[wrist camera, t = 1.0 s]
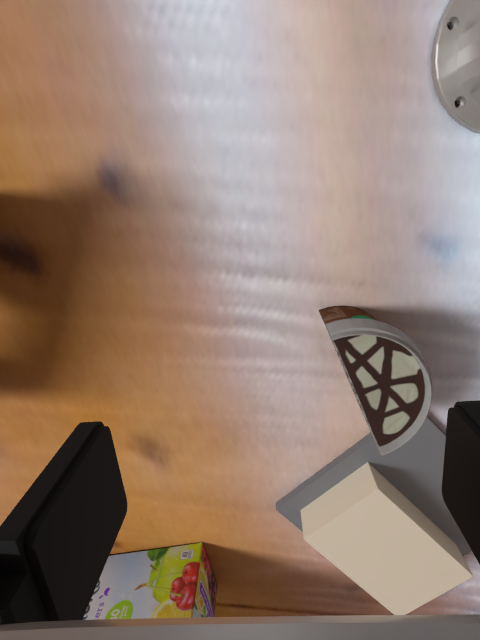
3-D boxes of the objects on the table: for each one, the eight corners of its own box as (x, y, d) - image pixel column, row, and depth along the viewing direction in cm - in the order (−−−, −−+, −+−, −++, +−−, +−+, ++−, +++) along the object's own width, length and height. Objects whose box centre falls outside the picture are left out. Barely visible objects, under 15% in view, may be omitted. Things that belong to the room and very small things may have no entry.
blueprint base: (412, 401, 42) (431, 429, 37) (521, 511, 45) (551, 549, 41) (275, 503, 47) (277, 538, 42) (383, 593, 51) (395, 635, 46)
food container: (413, 378, 41) (458, 436, 31) (356, 398, 42) (383, 461, 32) (373, 271, 37) (411, 300, 28) (312, 297, 39) (329, 333, 29)
